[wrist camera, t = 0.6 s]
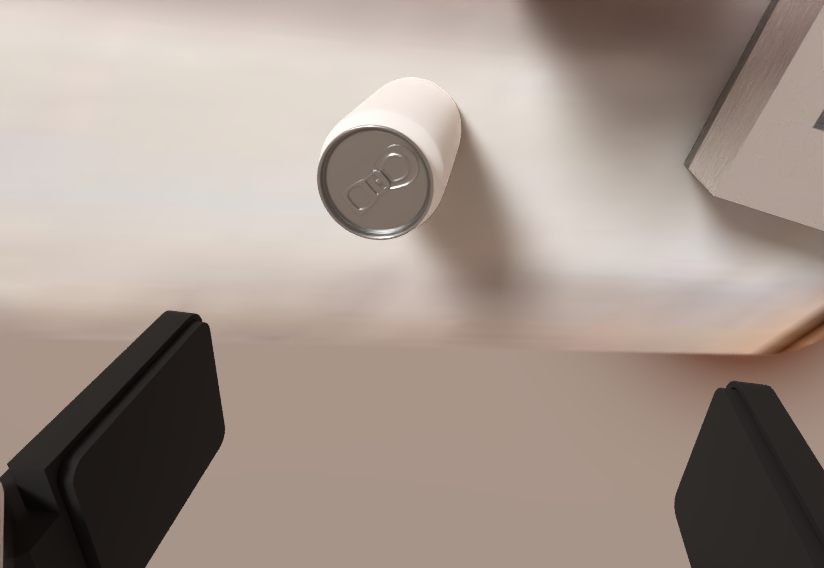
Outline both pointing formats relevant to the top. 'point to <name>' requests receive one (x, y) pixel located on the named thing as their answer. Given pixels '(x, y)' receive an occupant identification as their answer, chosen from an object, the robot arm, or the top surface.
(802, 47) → the grey box with opening
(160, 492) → the robot arm
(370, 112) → the can
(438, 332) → the top surface
